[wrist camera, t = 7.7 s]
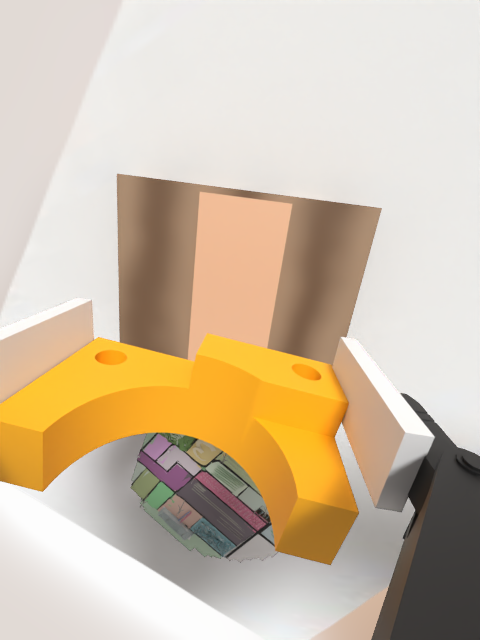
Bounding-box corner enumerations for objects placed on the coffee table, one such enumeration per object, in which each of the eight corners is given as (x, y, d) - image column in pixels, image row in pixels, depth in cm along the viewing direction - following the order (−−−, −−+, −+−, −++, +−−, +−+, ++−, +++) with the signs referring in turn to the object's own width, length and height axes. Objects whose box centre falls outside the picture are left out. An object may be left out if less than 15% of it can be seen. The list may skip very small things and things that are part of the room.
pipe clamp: (331, 364, 14) (381, 470, 8) (304, 431, 16) (330, 564, 10) (100, 306, 14) (-23, 367, 8) (95, 378, 16) (-13, 477, 10)
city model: (149, 345, 32) (116, 370, 26) (351, 421, 30) (362, 467, 24) (121, 493, 41) (91, 536, 35) (274, 561, 38) (269, 619, 33)
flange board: (367, 210, 23) (382, 208, 20) (324, 376, 29) (331, 394, 26) (134, 179, 24) (115, 173, 21) (133, 347, 30) (119, 361, 26)
